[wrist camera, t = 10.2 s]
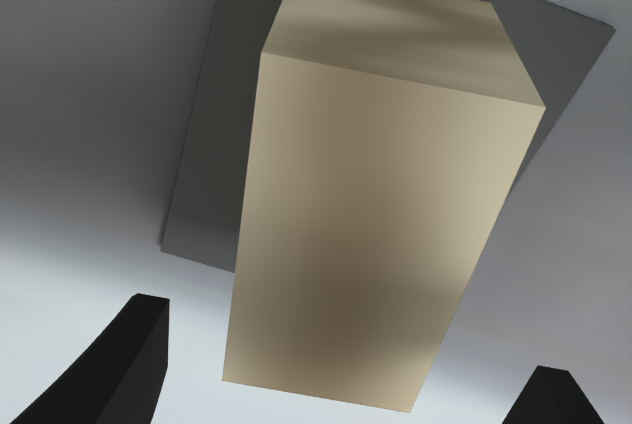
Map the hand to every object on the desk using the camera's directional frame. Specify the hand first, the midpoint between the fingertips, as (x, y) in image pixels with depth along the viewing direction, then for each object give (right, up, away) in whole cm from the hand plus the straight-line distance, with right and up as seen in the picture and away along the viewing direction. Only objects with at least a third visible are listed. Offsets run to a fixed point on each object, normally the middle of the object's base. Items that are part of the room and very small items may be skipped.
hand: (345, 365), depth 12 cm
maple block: (+1, +5, +6) cm, 8 cm away
